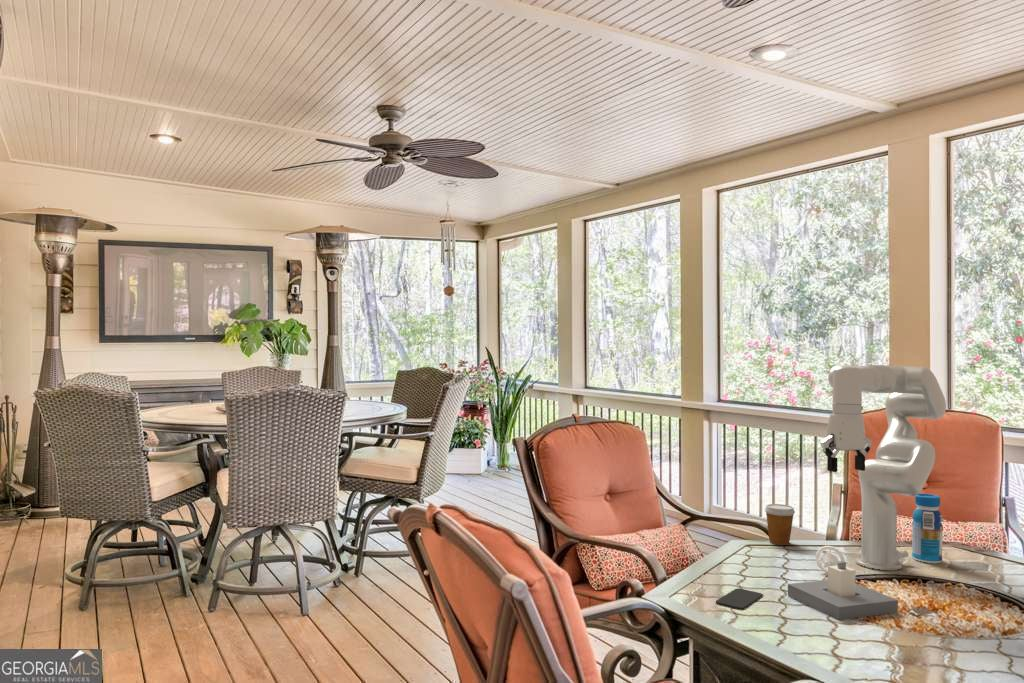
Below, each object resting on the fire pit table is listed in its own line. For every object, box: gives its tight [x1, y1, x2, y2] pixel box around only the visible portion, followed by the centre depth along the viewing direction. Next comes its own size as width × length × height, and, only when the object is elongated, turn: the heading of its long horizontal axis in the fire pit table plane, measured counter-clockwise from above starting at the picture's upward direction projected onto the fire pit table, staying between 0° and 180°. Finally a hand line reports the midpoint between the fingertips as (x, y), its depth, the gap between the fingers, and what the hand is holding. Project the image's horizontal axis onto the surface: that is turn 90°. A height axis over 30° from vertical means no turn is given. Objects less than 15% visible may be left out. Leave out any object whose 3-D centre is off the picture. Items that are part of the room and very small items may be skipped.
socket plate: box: [787, 579, 899, 621], centre depth 187 cm, size 18×18×3 cm
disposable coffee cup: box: [764, 503, 796, 546], centre depth 247 cm, size 10×10×12 cm
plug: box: [827, 560, 856, 597], centre depth 187 cm, size 4×4×10 cm
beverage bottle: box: [911, 493, 944, 564], centre depth 228 cm, size 8×8×20 cm
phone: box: [715, 588, 764, 611], centre depth 189 cm, size 7×1×15 cm
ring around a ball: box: [815, 545, 846, 574], centre depth 212 cm, size 8×6×8 cm
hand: (846, 470), depth 209 cm, fingers open, 9 cm apart
